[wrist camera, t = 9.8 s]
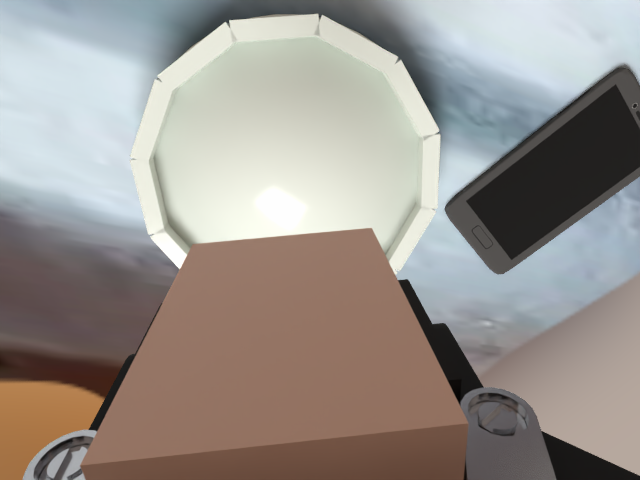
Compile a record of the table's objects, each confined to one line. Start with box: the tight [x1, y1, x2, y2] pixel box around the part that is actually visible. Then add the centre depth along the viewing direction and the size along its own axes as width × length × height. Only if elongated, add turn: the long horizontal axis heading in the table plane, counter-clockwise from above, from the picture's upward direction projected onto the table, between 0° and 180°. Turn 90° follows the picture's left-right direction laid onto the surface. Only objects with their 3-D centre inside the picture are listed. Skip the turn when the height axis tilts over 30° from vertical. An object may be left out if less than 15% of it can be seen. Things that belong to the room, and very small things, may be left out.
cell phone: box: [445, 68, 640, 274], centre depth 29 cm, size 7×14×1 cm, turn 131°
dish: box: [130, 14, 441, 275], centre depth 26 cm, size 18×18×3 cm
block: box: [80, 228, 469, 480], centre depth 10 cm, size 5×5×7 cm
